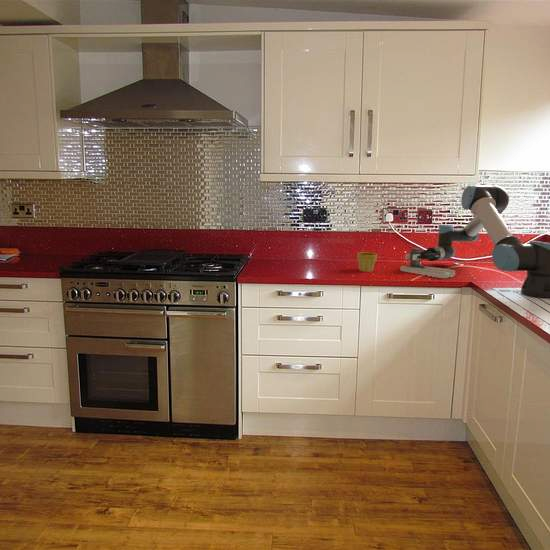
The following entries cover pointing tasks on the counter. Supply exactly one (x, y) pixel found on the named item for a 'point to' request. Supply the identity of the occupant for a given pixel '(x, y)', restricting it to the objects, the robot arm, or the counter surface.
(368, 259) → the plant pot
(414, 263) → the post
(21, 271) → the counter surface
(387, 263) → the counter surface
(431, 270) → the rail
